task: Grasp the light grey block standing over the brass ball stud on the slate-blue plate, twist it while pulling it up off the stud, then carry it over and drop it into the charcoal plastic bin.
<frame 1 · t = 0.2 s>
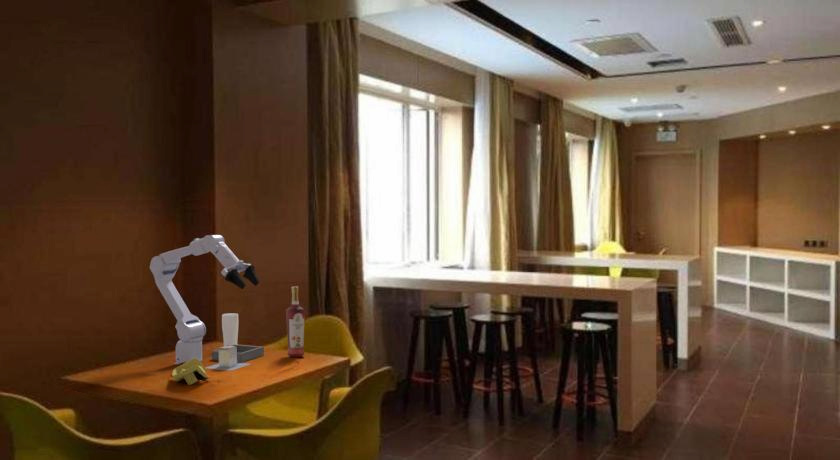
hand: (250, 285, 261), 31 cm above the table, tool tilted 45°, fingers open, 7 cm apart
liquor: (296, 357, 283), on the table
light grey block: (227, 365, 262), point 1 cm above the table, touching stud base
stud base: (228, 369, 262), on the table
drinking glass: (230, 350, 299), on the table
plastic component: (189, 381, 245), on the table
bin: (238, 360, 278), on the table
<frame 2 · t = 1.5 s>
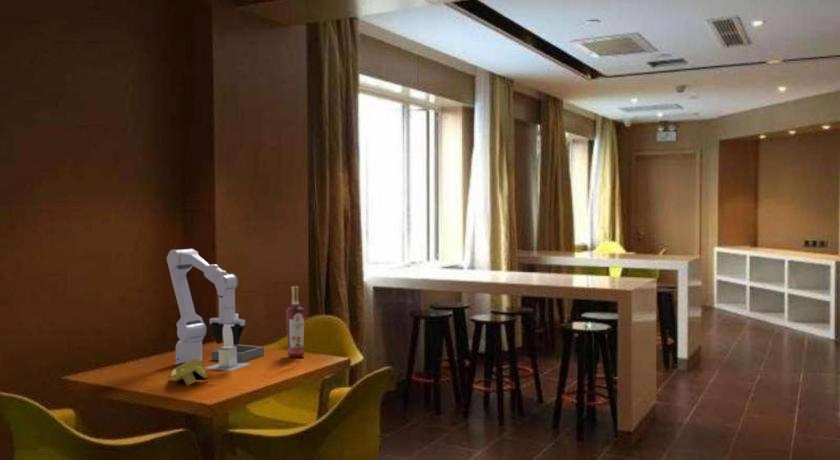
hand: (227, 344, 262), 9 cm above the table, tool pointing down, fingers open, 7 cm apart
nothing on the table moved.
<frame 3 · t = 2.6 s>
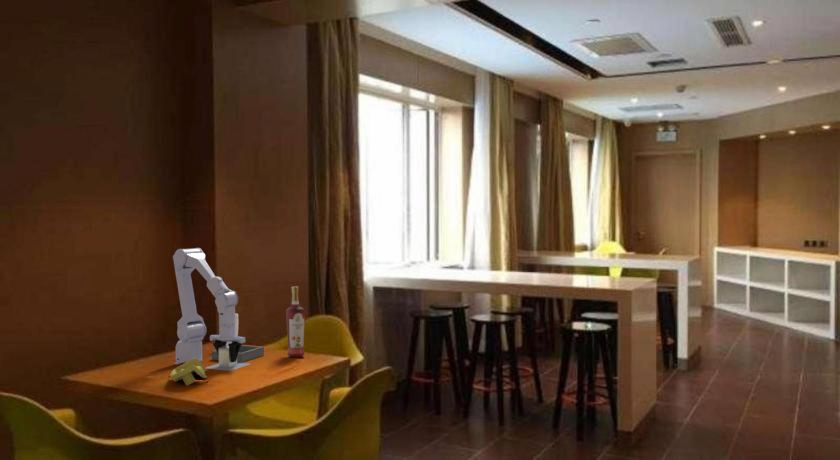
hand: (227, 361, 262), 3 cm above the table, tool pointing down, fingers closed on light grey block, 5 cm apart
light grey block: (227, 365, 262), point 1 cm above the table, touching gripper, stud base
everything else where it was.
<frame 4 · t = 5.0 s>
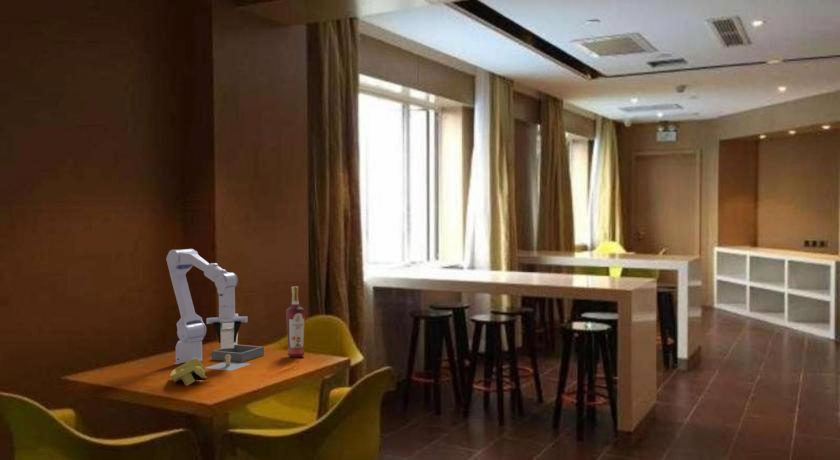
hand: (227, 342, 262), 10 cm above the table, tool pointing down, fingers closed on light grey block, 5 cm apart
light grey block: (227, 347, 262), point 8 cm above the table, touching gripper
everything else where it was.
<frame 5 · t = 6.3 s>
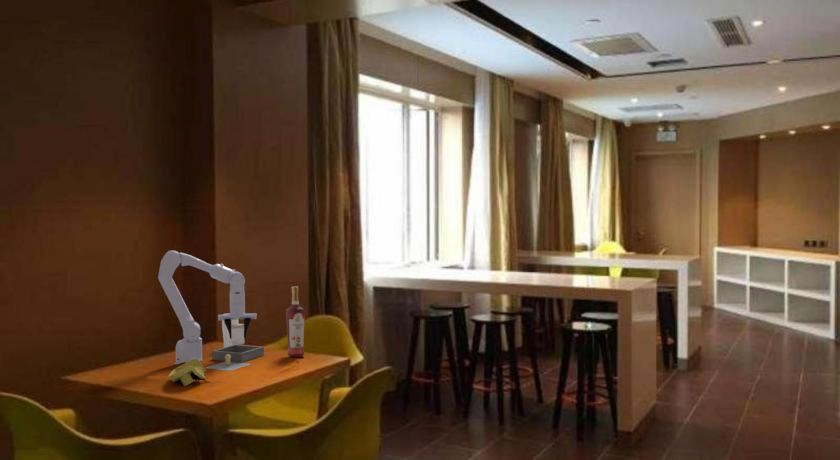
hand: (237, 337, 277), 9 cm above the table, tool pointing down, fingers closed on light grey block, 5 cm apart
light grey block: (238, 342, 277), point 7 cm above the table, touching gripper
when the fingers open (5 cm above the table, at t = 7.4 s): light grey block drops 3 cm, resting on bin.
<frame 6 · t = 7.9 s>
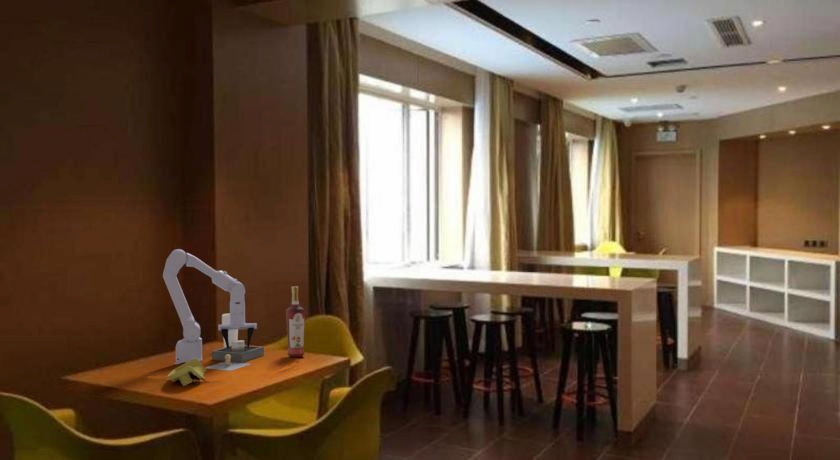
hand: (238, 347, 277), 5 cm above the table, tool pointing down, fingers open, 7 cm apart
light grey block: (238, 359, 277), resting on bin
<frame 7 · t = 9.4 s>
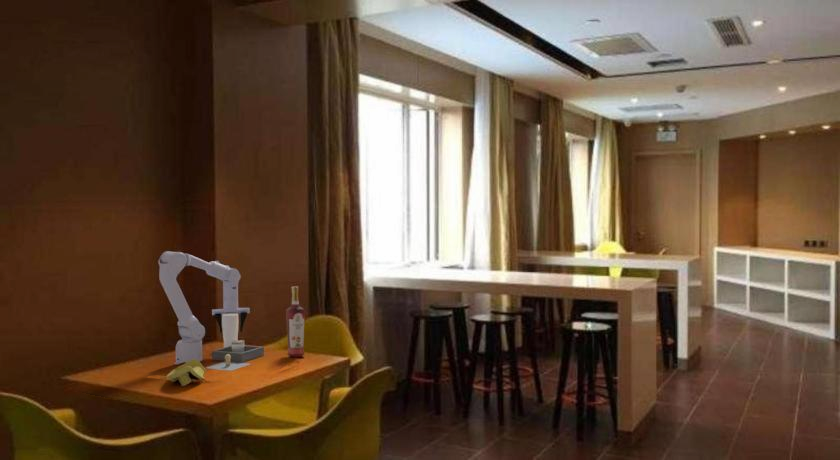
hand: (231, 331, 285), 10 cm above the table, tool pointing down, fingers open, 7 cm apart
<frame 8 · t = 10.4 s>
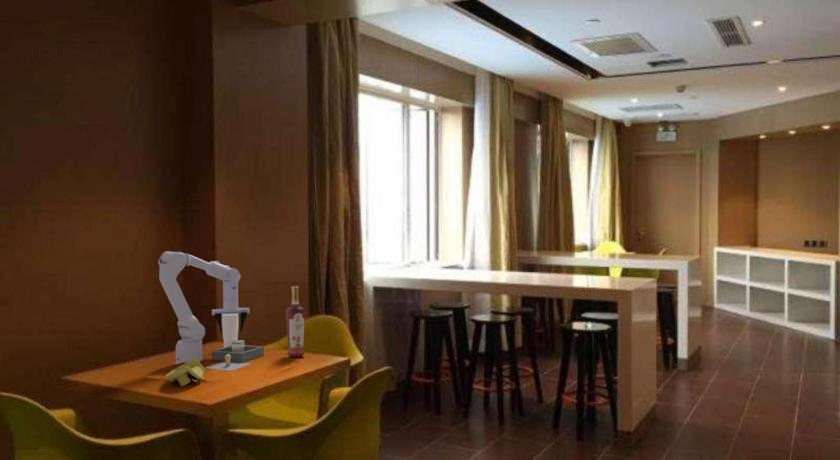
hand: (231, 331, 285), 10 cm above the table, tool pointing down, fingers open, 7 cm apart
at the end: light grey block inside the target area on the bin (0.2 cm from its centre), point 0.5 cm above the bin's base; the gripper is holding nothing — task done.
